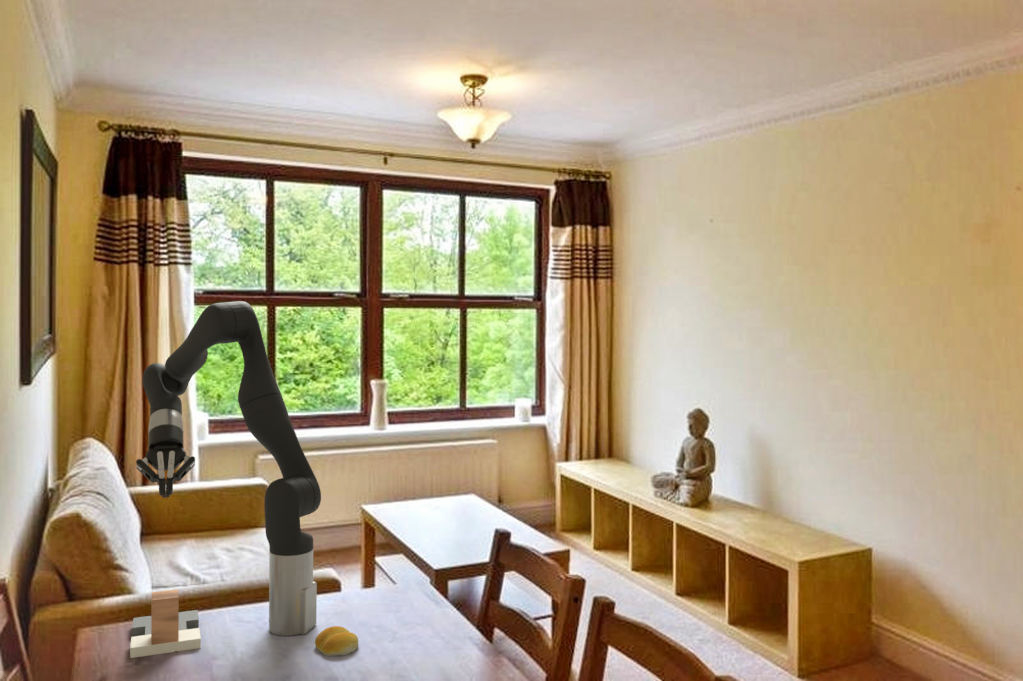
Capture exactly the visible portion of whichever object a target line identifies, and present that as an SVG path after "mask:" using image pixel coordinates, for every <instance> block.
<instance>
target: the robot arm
mask: <svg viewBox="0 0 1023 681" xmlns="http://www.w3.org/2000/svg"><path fill="white" fill-rule="evenodd" d="M229 343H238V345H239V346H240V350H241V353H242V358H243V371H242V377H241V379H240V384H239V387H238V393H237V401H238V406H239V409H240V411H241V414H242V417H243V419H244V422H245V425H246V427H247V429H248V431H249V432H250V433H251V435H252V436H253V437H254V438H255V439H256V440H257V441H258V442H259V443H260V444H261V445H262V446H263V447H264V449H266V450H267V452H269V454H270V455H271V456H272V458H274V460H275V461H276V462H275V463H277V465H278V467H279V470H280V473H281V476H282V477H281V478H278V479H276V480H273V481H272V482H270V484H268V486H267V488H266V490H265V494H264V502H263V503H264V504H263V505H264V523H265V526H264V527H265V529H264V530H265V536H266V540H267V542H268V546H269V557H268V558H269V565H268V566H269V567H268V568H269V573H268V576H269V578H268V579H269V580H268V581H269V582H268V587H269V588H268V589H269V590H268V591H269V592H268V600H269V601H268V610H269V611H268V614H269V615H268V616H269V617H268V631H269V632H270V633H272V634H273V635H276V636H297V635H306V634H307V633H309V631H310V630H312V629H313V628H314V627H315V625H317V594H318V592H317V589H318V587H317V585H318V584H317V581H314V537H313V535H312V534H310V533H309V532H305V531H302V529H301V521H300V520H301V517H302V518H303V517H305V516H309V515H311V514H313V513H315V512H316V511H317V510H318V509H319V507H320V505H321V502H322V492H321V488H320V485H319V481H318V479H317V477H316V475H315V473H314V471H313V469H312V467H311V465H310V463H309V460H308V459H307V457H306V455H305V453H304V451H303V448H302V446H301V444H300V441H299V439H298V436H297V433H296V431H295V429H294V427H293V424H292V421H291V419H290V416H289V413H288V410H287V406H286V403H285V401H284V398H283V395H282V393H281V391H280V388H279V385H278V382H277V380H276V378H275V375H274V371H273V369H272V366H271V363H270V360H269V357H268V354H267V351H266V346H265V342H264V338H263V335H262V330H261V327H260V324H259V319H258V317H257V315H256V311H255V310H254V308H253V307H252V306H251V305H250V303H249V302H246V301H243V300H235V301H224V302H215V303H213V304H210V305H208V306H207V307H206V308H205V309H204V310H203V311H202V312H201V314H200V315H199V317H198V319H197V320H196V322H195V324H194V325H193V327H192V328H191V330H190V332H189V333H188V335H187V337H186V338H185V340H184V341H183V342H182V344H180V345H179V346H178V348H176V350H174V351H173V352H172V353H171V354H170V355H169V356H168V357H167V359H166V360H165V362H164V363H165V364H163V363H159V362H153V363H151V364H149V365H148V366H147V367H146V368H145V369H144V371H143V373H142V386H143V390H144V392H145V395H146V398H147V400H148V401H147V402H148V404H149V413H150V414H149V422H148V434H147V435H148V442H147V443H148V444H147V445H148V448H147V452H146V454H145V457H144V458H142V459H140V458H137V459H136V461H135V464H136V466H135V467H136V470H138V472H140V473H141V474H142V475H143V476H144V477H145V478H146V479H147V480H148V481H149V482H151V483H153V484H154V483H157V484H158V494H159V496H161V497H162V499H164V498H166V499H167V498H170V496H172V495H173V493H174V488H173V486H174V482H180V481H182V479H184V477H185V476H186V475H187V474H188V473H189V472H190V471H191V469H193V468H194V467H195V465H196V457H195V456H189V455H187V451H186V450H185V449H184V421H183V411H182V410H183V409H182V408H183V406H182V404H183V403H182V400H181V398H180V396H182V395H183V394H184V393H185V392H187V390H188V388H189V384H190V381H191V379H192V377H193V376H194V375H195V374H196V373H197V372H198V371H199V370H200V369H202V367H203V366H204V365H205V364H206V362H207V359H208V357H209V356H208V354H209V351H208V349H209V348H211V347H213V346H215V345H218V344H229ZM182 463H183V464H182ZM181 464H182V465H181ZM149 465H150V466H151V467H152V468H153V469H155V471H157V473H156V472H155V471H154V470H153V469H152V468H151V467H150V466H149ZM180 465H181V467H180ZM178 467H179V468H178ZM177 468H178V469H177ZM176 469H177V470H176ZM175 470H176V471H175ZM165 471H167V474H165V473H166V472H165Z"/></svg>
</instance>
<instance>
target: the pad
mask: <svg viewBox="0 0 1023 681" xmlns="http://www.w3.org/2000/svg"><path fill="white" fill-rule="evenodd" d="M130 638H131V639H130V647H129V653H130V654H129V656H130V657H129V659H135V658H140V657H148V656H153V655H154V656H155V655H161V654H163V655H164V654H168V653H169V654H170V653H176V652H175V651H177V652H183V651H189V650H197V649H201V644H202V643H201V642H202V641H201V640H202V638H201V628H200V627H199V628H194V629H187V630H179V641H177V642H170V643H162V644H155V645H151V634H149V635H142V636H134V637H132V636H131V637H130Z"/></svg>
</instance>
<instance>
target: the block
mask: <svg viewBox="0 0 1023 681" xmlns="http://www.w3.org/2000/svg"><path fill="white" fill-rule="evenodd" d="M179 598H180V597H179V589H170V590H161V591H152V592H151V598H150V599H151V601H150V602H151V607H150V608H151V610H150V611H151V615H150V616H151V645H155V644H162V643H170V642H177V641H179V612H180V611H179V609H180V608H179V606H180V605H179V604H180V603H179V600H180V599H179Z"/></svg>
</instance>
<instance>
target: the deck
mask: <svg viewBox="0 0 1023 681" xmlns="http://www.w3.org/2000/svg"><path fill="white" fill-rule="evenodd" d="M199 619H200V618H199V610H198V609H196V610H195V609H194V610H187V611H179V630H187V629H194V628H200V627H199V626H200V625H199V622H200V621H199ZM131 626H132V628H131V629H132V630H131V632H132V633H131V634H132V636H131V637H134V636H142V635H149V634H151V615H148V616H146V615H145V616H139V617H133V619H132V625H131Z"/></svg>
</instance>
